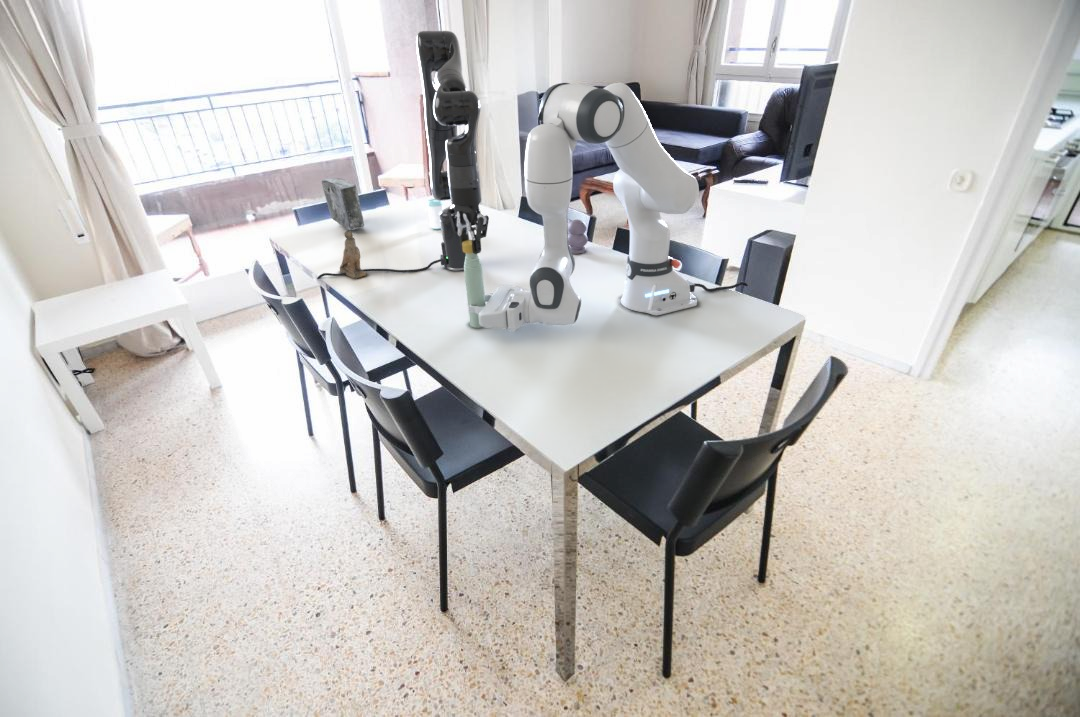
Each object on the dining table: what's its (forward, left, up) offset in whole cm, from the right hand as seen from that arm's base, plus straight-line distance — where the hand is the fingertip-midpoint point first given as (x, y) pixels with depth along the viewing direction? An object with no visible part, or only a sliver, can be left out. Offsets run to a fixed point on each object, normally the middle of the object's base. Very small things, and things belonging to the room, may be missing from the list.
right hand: (473, 303), depth 138 cm
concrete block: (+46, -112, -6) cm, 122 cm away
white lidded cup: (+6, -99, -6) cm, 99 cm away
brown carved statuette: (+39, -52, -6) cm, 65 cm away
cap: (-1, 0, +17) cm, 17 cm away
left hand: (-1, 0, +15) cm, 15 cm away
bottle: (-1, 0, -6) cm, 6 cm away
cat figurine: (-44, -50, -6) cm, 67 cm away
